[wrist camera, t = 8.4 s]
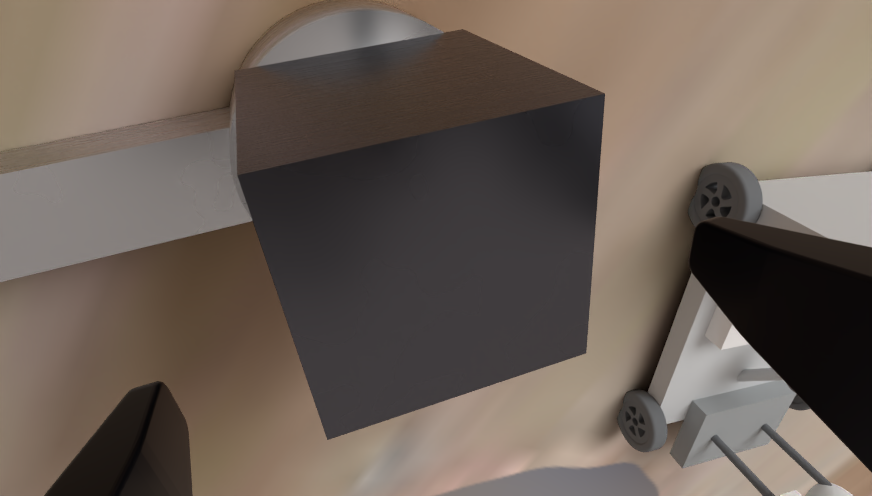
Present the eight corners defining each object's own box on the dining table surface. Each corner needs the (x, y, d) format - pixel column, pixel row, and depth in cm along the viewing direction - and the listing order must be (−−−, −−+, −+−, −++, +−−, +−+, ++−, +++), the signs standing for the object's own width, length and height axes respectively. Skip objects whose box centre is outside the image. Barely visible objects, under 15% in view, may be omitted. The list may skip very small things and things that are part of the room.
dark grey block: (463, 29, 13) (605, 93, 8) (476, 220, 16) (586, 352, 11) (234, 70, 12) (237, 174, 7) (295, 268, 15) (327, 440, 10)
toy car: (915, 563, 26) (730, 640, 22) (754, 412, 34) (599, 452, 30) (1211, 242, 17) (979, 289, 13) (895, 140, 25) (698, 152, 21)
